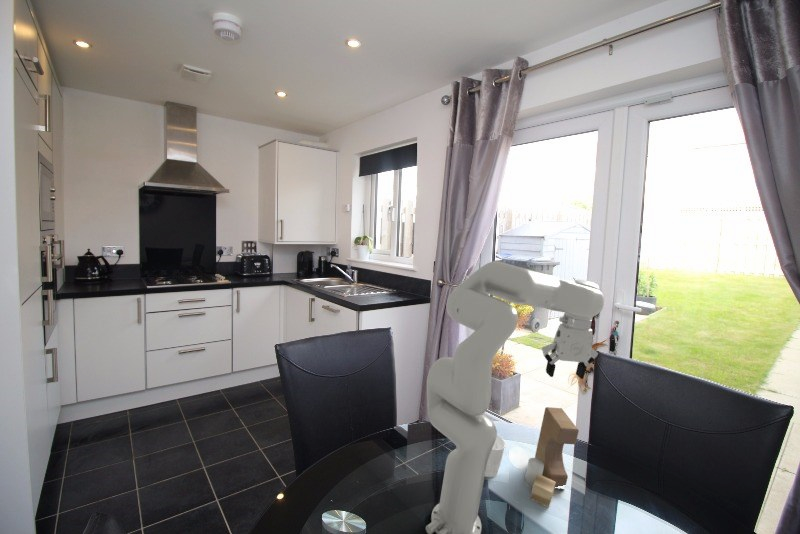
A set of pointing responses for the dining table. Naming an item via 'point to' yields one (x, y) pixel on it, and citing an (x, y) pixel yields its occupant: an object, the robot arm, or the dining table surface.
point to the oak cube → (543, 490)
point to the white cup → (495, 457)
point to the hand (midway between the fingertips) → (564, 375)
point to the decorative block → (555, 443)
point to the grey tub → (533, 470)
